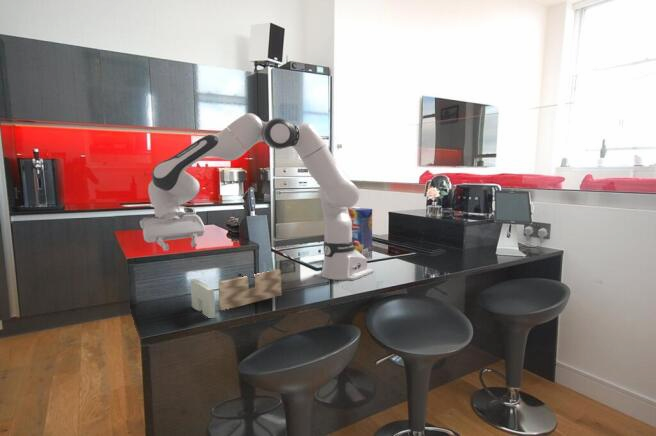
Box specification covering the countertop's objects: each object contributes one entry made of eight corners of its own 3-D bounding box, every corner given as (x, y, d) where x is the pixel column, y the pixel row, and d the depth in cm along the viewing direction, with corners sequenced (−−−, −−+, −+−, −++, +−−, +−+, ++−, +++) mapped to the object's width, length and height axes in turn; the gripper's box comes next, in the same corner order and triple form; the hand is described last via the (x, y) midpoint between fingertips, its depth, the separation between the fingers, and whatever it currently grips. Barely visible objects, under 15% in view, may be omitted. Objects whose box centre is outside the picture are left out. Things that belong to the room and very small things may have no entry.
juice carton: (372, 258, 185) (372, 208, 182) (361, 261, 180) (361, 210, 177) (354, 254, 194) (354, 207, 191) (343, 256, 189) (343, 208, 186)
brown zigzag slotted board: (278, 293, 135) (278, 269, 134) (281, 295, 134) (280, 269, 133) (220, 309, 121) (218, 281, 120) (222, 310, 120) (220, 282, 119)
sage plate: (196, 305, 125) (195, 278, 123) (215, 318, 114) (213, 289, 113) (191, 306, 124) (190, 279, 122) (210, 319, 113) (208, 290, 112)
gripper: (139, 212, 128) (149, 246, 122) (199, 208, 141) (211, 238, 135) (136, 224, 132) (146, 257, 126) (195, 219, 145) (207, 248, 139)
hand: (180, 247), depth 131 cm, fingers open, 8 cm apart
